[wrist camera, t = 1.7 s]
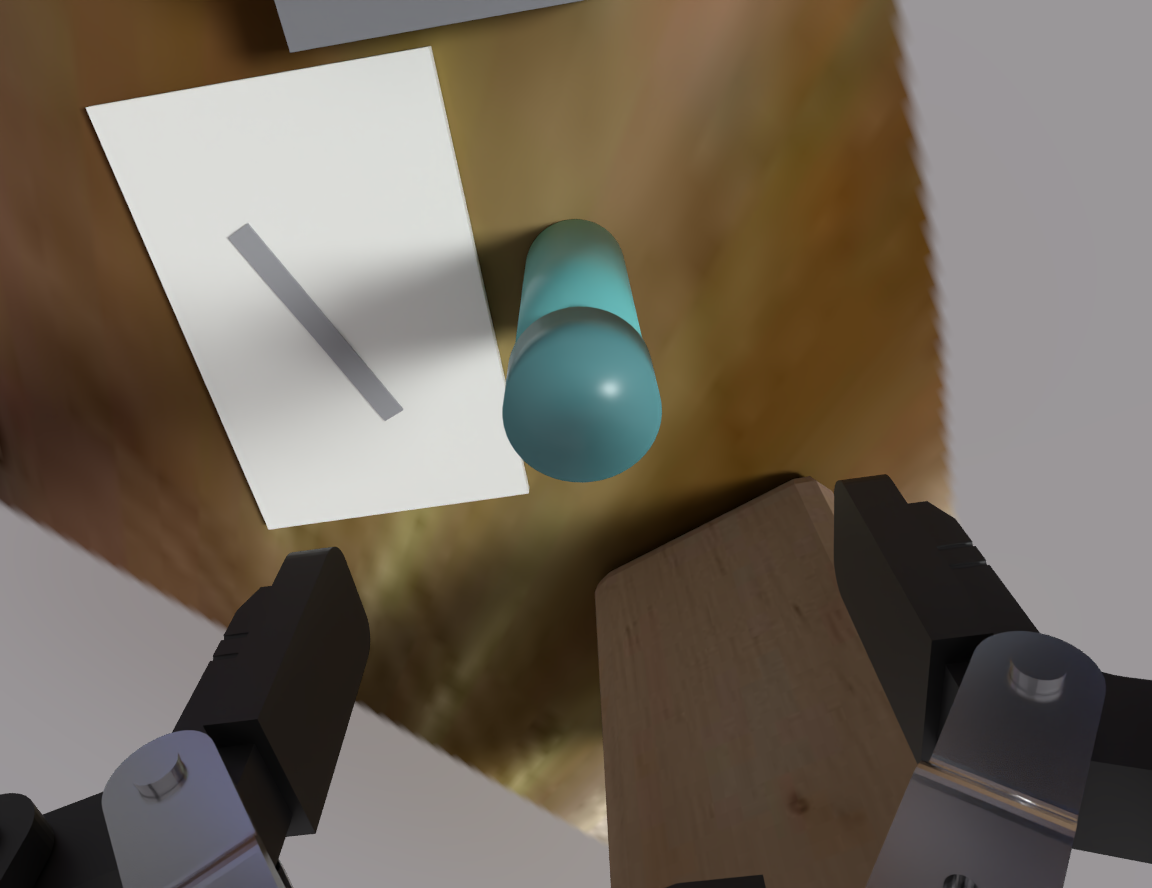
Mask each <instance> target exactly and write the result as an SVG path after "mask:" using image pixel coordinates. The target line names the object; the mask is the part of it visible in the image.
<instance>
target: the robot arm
mask: <svg viewBox="0 0 1152 888" xmlns="http://www.w3.org/2000/svg"><path fill="white" fill-rule="evenodd" d="M834 568H835V575H836V580H837V584H838V588H839V592H840V595H841V597H842V600H843V602H844V604H845V606H846V608H847V611H848V613H849V615H850V617H851V619H852V622H853V624H854V626H855V628H856V630H857V633H858V635H859V637H860V639H861V641H862V644H863V646H864V648H865V650H866V652H867V654H868V657H869V659H870V661H871V663H872V665H873V668H874V670H875V672H876V674H877V676H878V679H879V681H880V683H881V685H882V687H883V690H884V692H885V694H886V696H887V698H888V701H889V703H890V705H891V707H892V709H893V712H894V714H895V716H896V718H897V720H898V723H899V725H900V727H901V729H902V731H903V733H904V736H905V738H906V740H907V742H908V744H909V747H910V749H911V751H912V753H913V755H914V758H915V760H916V762H917V764H918V765H917V767H916V769H915V770H914V772H913V775H912V777H911V779H910V782H909V784H908V786H907V789H906V791H905V794H904V796H903V798H902V801H901V803H900V806H899V808H898V810H897V813H896V815H895V818H894V820H893V822H892V825H891V827H890V830H889V832H888V834H887V837H886V839H885V842H884V844H883V846H882V849H881V851H880V853H879V856H878V858H877V861H876V863H875V865H874V868H873V870H872V873H871V875H870V877H869V880H868V882H867V885H866V887H865V888H1063V886H1064V881H1065V876H1066V872H1067V868H1068V863H1069V859H1070V854H1071V850H1072V849H1077V850H1083V851H1088V852H1093V853H1098V854H1103V855H1109V856H1114V857H1119V858H1124V859H1129V860H1135V861H1140V862H1145V863H1150V864H1152V680H1145V679H1137V678H1129V677H1122V676H1117V675H1112V674H1108V673H1104V672H1101V670H1100V669H1099V668H1098V666H1097V665H1096V663H1095V662H1094V661H1093V660H1092V659H1091V658H1090V657H1089V656H1087V655H1086V654H1085V653H1083V652H1082V651H1081V650H1080V649H1077V648H1076V647H1074V646H1073V645H1071V644H1069V643H1067V642H1065V641H1063V640H1061V639H1058V638H1055V637H1052V636H1049V635H1045V634H1041V633H1039V631H1038V630H1037V629H1036V627H1035V626H1034V625H1033V623H1032V622H1031V621H1030V619H1029V618H1028V616H1027V615H1026V614H1025V612H1024V611H1023V610H1022V609H1021V607H1020V606H1019V604H1018V603H1017V602H1016V600H1015V599H1014V597H1013V596H1012V595H1011V593H1010V592H1009V591H1008V589H1007V588H1006V587H1005V585H1004V584H1003V583H1002V581H1001V580H1000V579H999V577H998V576H997V574H996V573H995V572H994V570H993V569H992V568H991V566H990V565H987V564H986V560H985V558H984V557H983V556H982V554H981V553H980V551H979V550H978V549H977V547H976V546H973V545H972V541H971V539H970V538H969V537H968V535H967V534H966V533H965V531H964V530H963V529H962V527H961V526H960V524H959V523H958V522H957V520H956V519H955V518H953V517H951V516H950V515H948V514H947V513H945V512H943V511H942V510H940V509H939V508H937V507H936V506H934V505H932V504H931V503H929V502H928V501H925V502H917V503H910V504H907V502H906V501H905V499H904V498H903V496H902V495H901V493H900V492H899V490H898V489H897V487H896V486H895V484H894V483H893V481H892V480H891V478H890V477H889V476H888V475H886V474H884V475H876V476H869V477H861V478H854V479H847V480H839V481H837V482H836V484H835V489H834ZM369 650H370V630H369V623H368V619H367V616H366V613H365V610H364V608H363V605H362V602H361V600H360V597H359V594H358V592H357V589H356V586H355V584H354V581H353V578H352V576H351V573H350V570H349V568H348V565H347V562H346V560H345V557H344V555H343V553H342V552H341V550H340V549H339V548H337V547H330V548H322V549H315V550H307V551H300V552H292V553H290V554H288V555H287V557H286V558H285V560H284V562H283V564H282V566H281V568H280V570H279V572H278V574H277V576H276V578H275V580H274V582H273V584H272V586H268V587H261V588H260V589H259V590H258V591H257V592H256V593H254V594H253V595H252V596H251V597H250V598H249V599H248V600H247V601H246V602H245V603H244V604H243V605H242V606H241V607H240V608H239V609H238V610H237V611H236V613H235V615H234V617H233V619H232V621H231V623H230V625H229V626H228V628H227V630H226V632H225V634H224V640H221V642H220V643H219V645H218V647H217V649H216V651H215V653H214V655H213V661H210V662H209V664H208V666H207V668H206V670H205V672H204V673H203V675H202V677H201V679H200V681H199V683H198V685H197V687H196V689H195V690H194V692H193V694H192V696H191V698H190V700H189V702H188V704H187V705H186V707H185V709H184V711H183V713H182V715H181V717H180V719H179V720H178V722H177V724H176V726H175V728H174V730H173V732H172V733H170V734H166V735H164V736H161V737H159V738H157V739H155V740H153V741H151V742H149V743H147V744H145V745H144V746H142V747H141V748H139V749H138V750H137V751H135V752H134V753H132V754H131V755H130V756H129V757H128V758H127V759H126V760H124V762H122V763H121V765H120V766H119V767H118V768H117V769H116V770H115V772H114V773H113V774H112V776H111V777H110V779H109V780H108V782H107V784H106V786H105V789H104V792H101V793H99V794H96V795H93V796H91V797H88V798H86V799H83V800H80V801H78V802H75V803H72V804H70V805H67V806H64V807H62V808H59V809H57V810H54V811H51V812H49V813H46V814H43V815H42V814H41V812H40V811H39V810H38V809H37V807H36V806H35V805H34V803H33V802H32V801H31V799H29V798H28V797H27V796H24V795H22V794H16V793H9V794H2V795H0V888H293V886H292V884H291V882H290V880H289V877H288V875H287V873H286V871H285V869H284V867H283V865H282V864H281V862H280V860H279V855H280V852H281V849H282V846H283V843H284V840H285V837H288V836H298V835H306V834H315V833H316V830H317V827H318V824H319V820H320V817H321V814H322V810H323V807H324V803H325V800H326V797H327V793H328V790H329V786H330V783H331V780H332V776H333V773H334V769H335V766H336V763H337V760H338V756H339V753H340V750H341V746H342V743H343V740H344V736H345V733H346V730H347V726H348V723H349V720H350V716H351V712H352V709H353V706H354V703H355V699H356V696H357V693H358V689H359V686H360V683H361V679H362V676H363V672H364V669H365V666H366V662H367V659H368V655H369ZM665 888H766V886H765V882H764V877H763V874H762V875H753V876H743V877H733V878H723V879H713V880H704V881H694V882H684V883H676V884H673V885H671V886H668V887H665Z"/></svg>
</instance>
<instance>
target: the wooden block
mask: <svg viewBox="0 0 1152 888" xmlns="http://www.w3.org/2000/svg"><path fill="white" fill-rule="evenodd" d="M595 604H596V623H597V641H598V659H599V677H600V696H601V714H602V732H603V750H604V769H605V787H606V805H607V823H608V841H609V860H610V878H611V888H665V887H668V886H671V885H673V884H676V883H684V882H694V881H704V880H713V879H723V878H733V877H743V876H753V875H762V874H763V877H764V882H765V886H766V888H865V887H866V885H867V882H868V880H869V877H870V875H871V873H872V870H873V868H874V865H875V863H876V861H877V858H878V856H879V853H880V851H881V849H882V846H883V844H884V842H885V839H886V837H887V834H888V832H889V830H890V827H891V825H892V822H893V820H894V818H895V815H896V813H897V810H898V808H899V806H900V803H901V801H902V798H903V796H904V794H905V791H906V789H907V786H908V784H909V782H910V779H911V777H912V775H913V772H914V770H915V769H916V767H917V765H918V764H917V762H916V760H915V758H914V755H913V753H912V751H911V749H910V747H909V744H908V742H907V740H906V738H905V736H904V733H903V731H902V729H901V727H900V725H899V723H898V720H897V718H896V716H895V714H894V712H893V709H892V707H891V705H890V703H889V701H888V698H887V696H886V694H885V692H884V690H883V687H882V685H881V683H880V681H879V679H878V676H877V674H876V672H875V670H874V668H873V665H872V663H871V661H870V659H869V657H868V654H867V652H866V650H865V648H864V646H863V644H862V641H861V639H860V637H859V635H858V633H857V630H856V628H855V626H854V624H853V622H852V619H851V617H850V615H849V613H848V611H847V608H846V606H845V604H844V602H843V600H842V597H841V595H840V592H839V588H838V584H837V580H836V575H835V568H834V494H833V492H832V491H831V490H830V489H828V488H827V487H825V486H824V485H822V484H821V483H819V482H817V481H816V480H814V479H813V478H812V477H810V476H808V477H802V478H796V479H792V480H790V481H788V482H786V483H784V484H782V485H780V486H778V487H776V488H775V489H773V490H771V491H769V492H767V493H765V494H763V495H761V496H759V497H757V498H755V499H753V500H751V501H749V502H747V503H745V504H743V505H741V506H739V507H737V508H735V509H733V510H731V511H729V512H727V513H725V514H723V515H721V516H719V517H717V518H715V519H713V520H711V521H709V522H707V523H705V524H703V525H702V526H700V527H698V528H696V529H694V530H692V531H690V532H688V533H686V534H684V535H682V536H680V537H678V538H676V539H674V540H672V541H670V542H668V543H666V544H664V545H662V546H660V547H658V548H656V549H654V550H652V551H650V552H648V553H646V554H644V555H642V556H640V557H638V558H636V559H634V560H632V561H630V562H628V563H627V564H625V565H623V566H621V567H619V568H617V569H615V570H613V571H611V572H609V573H608V574H607V575H606V576H605V577H604V578H603V579H602V580H601V581H600V582H599V583H598V586H597V588H596V590H595Z"/></svg>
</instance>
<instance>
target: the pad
mask: <svg viewBox="0 0 1152 888" xmlns="http://www.w3.org/2000/svg"><path fill="white" fill-rule="evenodd" d="M86 110H87V112H88V114H89V117H90V119H91V121H92V124H93V126H94V128H95V131H96V133H97V135H98V138H99V140H100V142H101V144H102V147H103V149H104V151H105V154H106V156H107V158H108V161H109V163H110V165H111V167H112V170H113V172H114V174H115V177H116V179H117V181H118V184H119V186H120V188H121V191H122V193H123V195H124V197H125V200H126V202H127V204H128V207H129V209H130V211H131V214H132V216H133V218H134V220H135V223H136V225H137V227H138V230H139V232H140V234H141V237H142V239H143V241H144V244H145V246H146V248H147V250H148V253H149V255H150V257H151V260H152V262H153V264H154V267H155V269H156V271H157V273H158V276H159V278H160V280H161V283H162V285H163V287H164V290H165V292H166V294H167V297H168V299H169V301H170V303H171V306H172V308H173V310H174V313H175V315H176V317H177V320H178V322H179V324H180V326H181V329H182V331H183V333H184V336H185V338H186V340H187V343H188V345H189V347H190V350H191V352H192V354H193V356H194V359H195V361H196V363H197V366H198V368H199V370H200V373H201V375H202V377H203V379H204V382H205V384H206V386H207V389H208V391H209V393H210V396H211V398H212V400H213V403H214V405H215V407H216V409H217V412H218V414H219V416H220V419H221V421H222V423H223V426H224V428H225V430H226V432H227V435H228V437H229V439H230V442H231V444H232V446H233V449H234V451H235V453H236V456H237V458H238V460H239V462H240V465H241V467H242V469H243V472H244V474H245V476H246V479H247V481H248V483H249V486H250V488H251V490H252V492H253V495H254V497H255V499H256V502H257V504H258V506H259V509H260V511H261V513H262V515H263V518H264V520H265V522H266V525H267V527H268V529H276V528H283V527H290V526H298V525H305V524H312V523H319V522H326V521H334V520H341V519H348V518H355V517H362V516H369V515H377V514H384V513H391V512H398V511H405V510H413V509H420V508H427V507H434V506H441V505H448V504H456V503H463V502H470V501H477V500H484V499H492V498H499V497H506V496H513V495H520V494H527V493H529V485H528V480H527V476H526V471H525V467H524V462H523V459H522V458H521V457H520V456H519V455H518V454H517V453H516V451H515V450H514V448H513V447H512V445H511V444H510V442H509V440H508V438H507V435H506V432H505V429H504V425H503V418H502V407H503V400H504V393H505V386H506V381H505V377H504V372H503V368H502V363H501V359H500V354H499V350H498V345H497V341H496V336H495V332H494V327H493V323H492V318H491V314H490V309H489V305H488V300H487V296H486V291H485V287H484V282H483V278H482V273H481V269H480V264H479V260H478V255H477V251H476V246H475V242H474V237H473V233H472V228H471V224H470V219H469V215H468V210H467V206H466V201H465V197H464V192H463V188H462V183H461V179H460V174H459V170H458V165H457V161H456V156H455V152H454V147H453V143H452V138H451V134H450V129H449V125H448V120H447V116H446V111H445V107H444V102H443V98H442V93H441V89H440V84H439V80H438V75H437V71H436V66H435V62H434V57H433V53H432V48H431V46H427V47H421V48H415V49H410V50H404V51H398V52H393V53H387V54H381V55H376V56H370V57H364V58H359V59H353V60H348V61H342V62H336V63H331V64H325V65H319V66H314V67H308V68H302V69H297V70H291V71H286V72H280V73H274V74H269V75H263V76H257V77H252V78H246V79H240V80H235V81H229V82H224V83H218V84H212V85H207V86H201V87H195V88H190V89H184V90H178V91H173V92H167V93H162V94H156V95H150V96H145V97H139V98H133V99H128V100H122V101H116V102H111V103H105V104H100V105H94V106H90V107H86Z"/></svg>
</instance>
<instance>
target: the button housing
mask: <svg viewBox="0 0 1152 888" xmlns="http://www.w3.org/2000/svg"><path fill="white" fill-rule="evenodd" d="M274 1H275V4H276V8H277V11H278V14H279V18H280V21H281V24H282V27H283V31H284V34H285V37H286V41H287V44H288V47H289V51H290V53H291V52H297V51H302V50H308V49H314V48H319V47H325V46H330V45H336V44H342V43H347V42H353V41H358V40H364V39H369V38H375V37H381V36H386V35H392V34H397V33H403V32H409V31H414V30H420V29H425V28H431V27H437V26H442V25H448V24H453V23H459V22H464V21H470V20H476V19H481V18H487V17H492V16H498V15H504V14H509V13H515V12H520V11H526V10H532V9H537V8H543V7H548V6H554V5H560V4H565V3H571V2H576V1H582V0H274Z"/></svg>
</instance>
